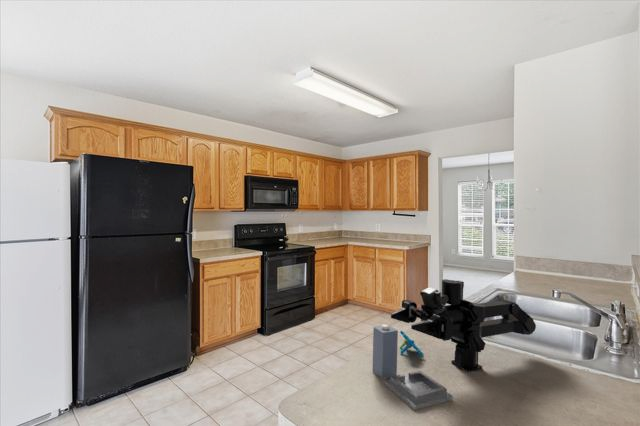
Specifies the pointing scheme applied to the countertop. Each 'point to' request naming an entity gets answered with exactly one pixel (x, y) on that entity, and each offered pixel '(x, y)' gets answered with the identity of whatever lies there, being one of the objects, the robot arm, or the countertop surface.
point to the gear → (408, 344)
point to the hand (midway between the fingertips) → (401, 321)
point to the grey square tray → (418, 390)
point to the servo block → (385, 351)
